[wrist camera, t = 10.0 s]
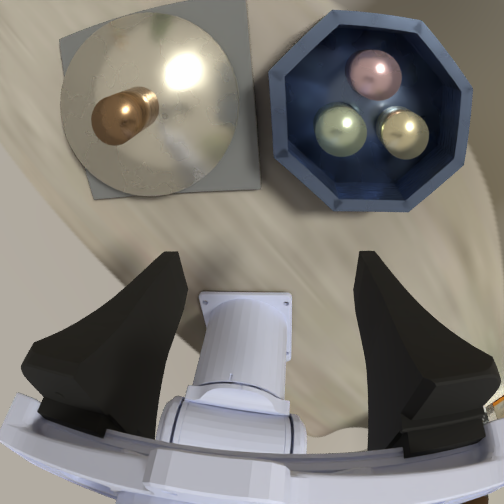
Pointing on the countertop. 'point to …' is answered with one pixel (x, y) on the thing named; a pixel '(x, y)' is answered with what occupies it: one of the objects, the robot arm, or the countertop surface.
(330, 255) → the countertop surface
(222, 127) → the lid
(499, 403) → the supplement box
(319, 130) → the tin
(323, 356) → the countertop surface
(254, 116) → the coaster
